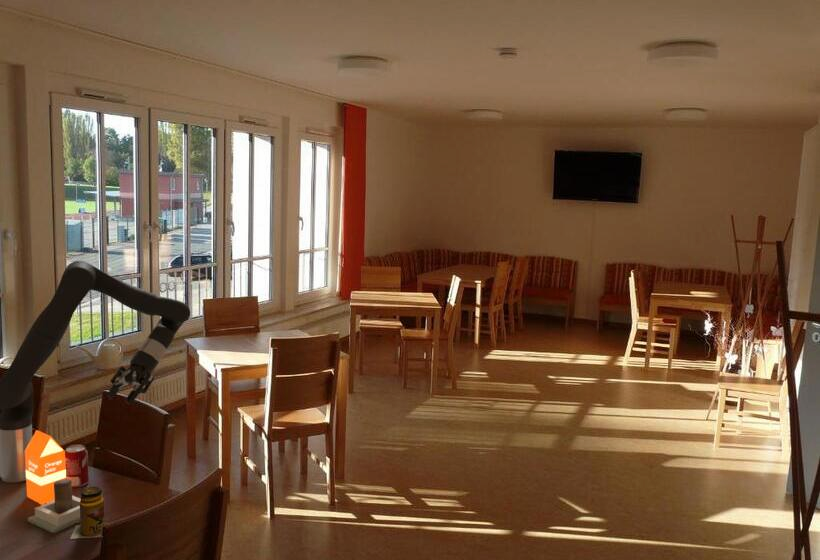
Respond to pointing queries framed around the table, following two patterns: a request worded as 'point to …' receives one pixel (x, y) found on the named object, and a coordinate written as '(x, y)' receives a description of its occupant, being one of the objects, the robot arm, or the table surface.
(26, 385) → the robot arm
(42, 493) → the orange juice
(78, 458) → the soda can
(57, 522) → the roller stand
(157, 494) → the table surface
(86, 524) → the condiment
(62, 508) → the roller
